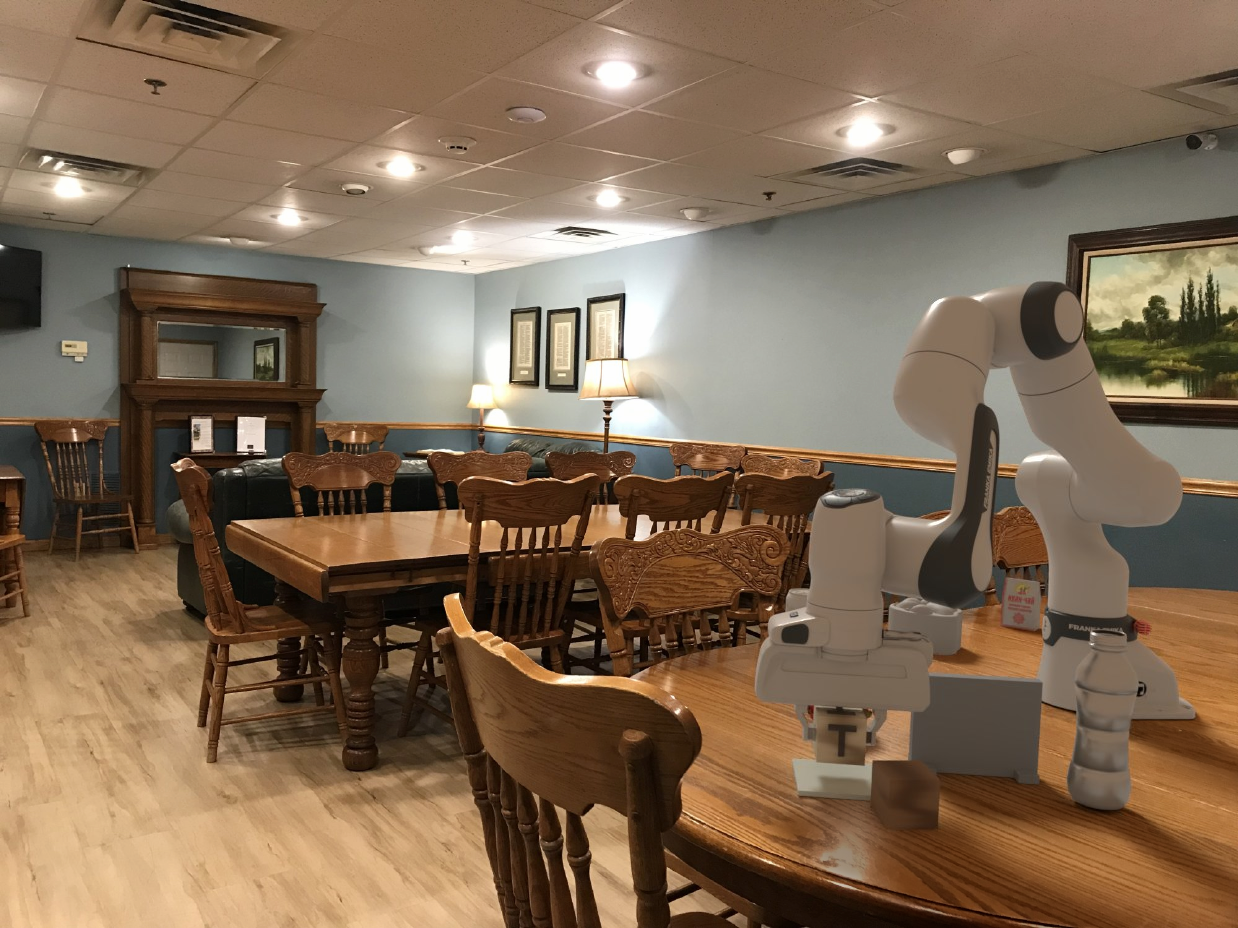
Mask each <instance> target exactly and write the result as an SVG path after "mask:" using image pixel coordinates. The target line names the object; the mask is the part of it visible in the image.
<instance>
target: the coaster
mask: <svg viewBox="0 0 1238 928" xmlns="http://www.w3.org/2000/svg"><path fill="white" fill-rule="evenodd" d="M791 764H792V770H793V776H794V781H795V787H796V791H797V796H799V797H800V796H801V797H812V798H827V799H839V800H841V799H842V800H853V801H855V800H856V801H869V802H870V801H871V780H872V763H869V762H867V763H866V762H865V766H860V765H846V764H832V763H818V762H816V759H812V758H811V759H810V758H807V759H806V758H793V757H792V758H791Z"/></svg>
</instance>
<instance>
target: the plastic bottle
mask: <svg viewBox="0 0 1238 928" xmlns="http://www.w3.org/2000/svg"><path fill="white" fill-rule="evenodd" d="M1126 644H1127V635H1126V634H1125V633H1122V632H1119V631H1114V630H1106V629H1094V630H1091V632H1090V642H1089V647H1090V648H1092V649H1091V652H1090V653H1089V654H1088V655H1087V656H1086V657H1085V658H1084V659H1083V661H1082V662H1081V663H1080V664H1079V666H1078V667H1077V669H1076V672H1075V674H1074V682H1075V694H1076V706H1077V711H1075V712H1076V717H1075V718H1076V725H1075V731H1076V732H1075V737H1074V743H1073V749H1072V754H1071V759H1070V762H1069V764H1068V768H1067V771H1066V772H1067V773H1066V776H1065V777H1066V785H1067V787H1066V788H1067V791H1068V793H1069V795H1070V797H1071V798H1072V799H1073V801H1075V802H1076V803H1077V804H1080V805H1083V806H1085V807H1088V808H1091V809H1097V810H1102V811H1103V810H1104V811H1116V810H1120V809H1122V808H1124V807H1125V806H1126V804H1127V803H1129V800H1130V797H1131V793H1132V776H1131V772H1130V769H1129V768H1130V763H1129V762H1130V760H1129V759H1130V756H1129V752H1130V751H1129V749H1130V747H1129V738H1130V729H1131V725H1132V724H1131V722H1132V719H1131V717H1132V712H1133V708H1134V704H1135V700H1136V695H1137V691H1138V685H1139V682H1138V678H1137V675H1136V673H1135V671H1134V669H1133V668H1132V666H1131V664H1130V663H1129V662H1128V660H1127V659H1126V658H1125V656H1124V652H1127V646H1126Z"/></svg>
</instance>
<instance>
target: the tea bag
mask: <svg viewBox="0 0 1238 928" xmlns="http://www.w3.org/2000/svg"><path fill="white" fill-rule="evenodd" d="M1041 594H1042V593H1041V582H1040V581H1035V580H1028V579H1020V578H1012V577H1005V579H1004V586H1003V590H1002V596H1001V609H1000V624H999V625H1000V627H1004V628H1005V627H1006V628H1010V629H1018V630H1025V631H1030V632H1035V631H1037V630H1039V629H1040V624H1041V606H1042V596H1041Z"/></svg>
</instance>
